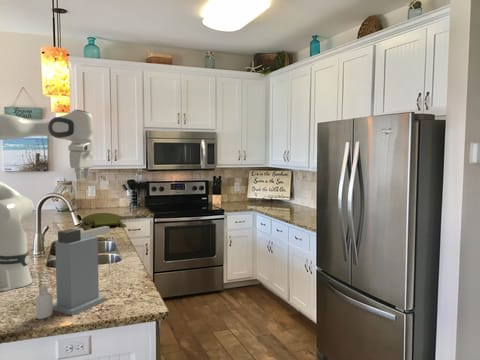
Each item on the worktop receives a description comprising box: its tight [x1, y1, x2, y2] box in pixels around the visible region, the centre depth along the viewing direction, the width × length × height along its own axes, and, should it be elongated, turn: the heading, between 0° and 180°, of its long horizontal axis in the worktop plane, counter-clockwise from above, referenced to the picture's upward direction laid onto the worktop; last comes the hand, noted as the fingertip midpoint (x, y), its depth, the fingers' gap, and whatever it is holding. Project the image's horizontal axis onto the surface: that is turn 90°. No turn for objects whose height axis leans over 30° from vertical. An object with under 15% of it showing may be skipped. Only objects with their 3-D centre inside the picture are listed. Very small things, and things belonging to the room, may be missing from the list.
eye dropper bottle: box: [35, 283, 54, 320], centre depth 141 cm, size 4×6×12 cm
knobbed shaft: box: [57, 226, 111, 244], centre depth 154 cm, size 22×5×4 cm, turn 153°
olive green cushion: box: [80, 212, 127, 230], centre depth 314 cm, size 35×31×10 cm
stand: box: [52, 236, 106, 316], centre depth 151 cm, size 16×12×26 cm
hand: (82, 178), depth 173 cm, fingers open, 8 cm apart
